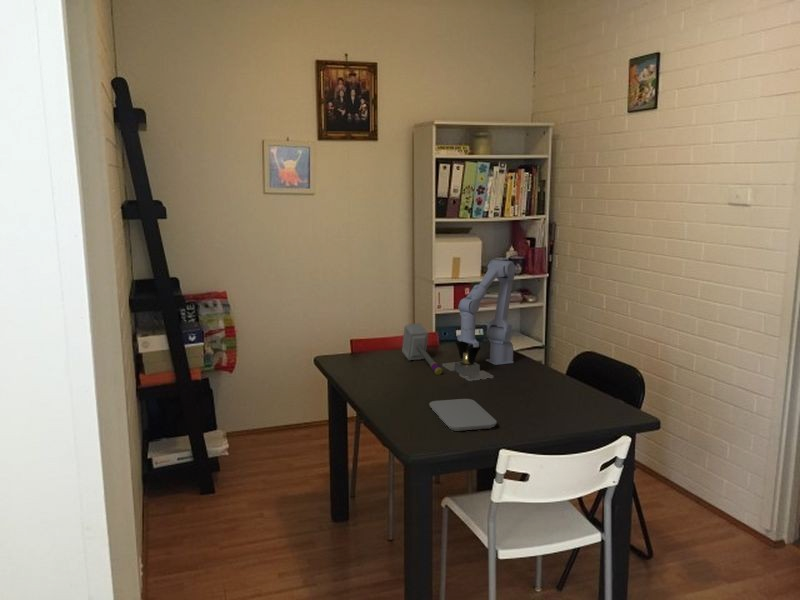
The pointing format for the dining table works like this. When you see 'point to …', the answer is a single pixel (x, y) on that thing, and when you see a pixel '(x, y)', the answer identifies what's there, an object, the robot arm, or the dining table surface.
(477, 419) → the tablet
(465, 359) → the hinge pin
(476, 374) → the hinge base
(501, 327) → the robot arm
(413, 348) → the hammer
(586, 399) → the dining table surface
